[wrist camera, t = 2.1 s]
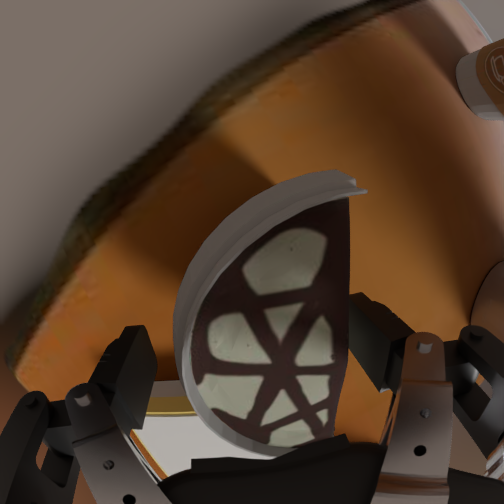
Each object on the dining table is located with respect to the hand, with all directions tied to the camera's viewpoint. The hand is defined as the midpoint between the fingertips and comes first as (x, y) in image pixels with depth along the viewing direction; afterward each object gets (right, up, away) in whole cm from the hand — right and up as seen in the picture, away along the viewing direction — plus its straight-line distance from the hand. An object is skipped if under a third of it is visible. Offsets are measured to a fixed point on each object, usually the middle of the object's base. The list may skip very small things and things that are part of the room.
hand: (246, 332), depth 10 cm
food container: (0, +2, +7) cm, 7 cm away
